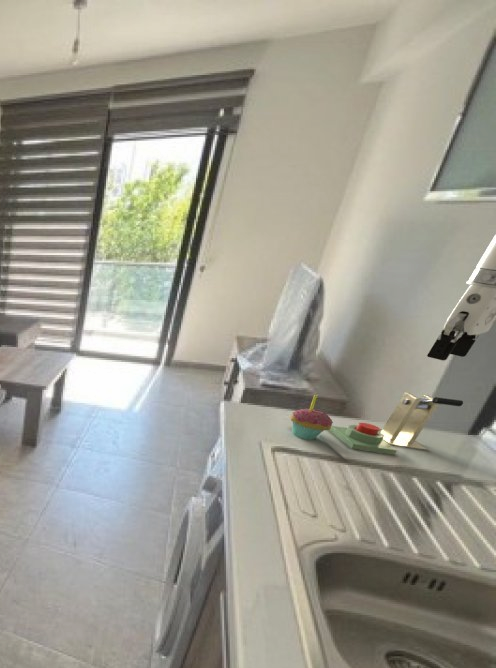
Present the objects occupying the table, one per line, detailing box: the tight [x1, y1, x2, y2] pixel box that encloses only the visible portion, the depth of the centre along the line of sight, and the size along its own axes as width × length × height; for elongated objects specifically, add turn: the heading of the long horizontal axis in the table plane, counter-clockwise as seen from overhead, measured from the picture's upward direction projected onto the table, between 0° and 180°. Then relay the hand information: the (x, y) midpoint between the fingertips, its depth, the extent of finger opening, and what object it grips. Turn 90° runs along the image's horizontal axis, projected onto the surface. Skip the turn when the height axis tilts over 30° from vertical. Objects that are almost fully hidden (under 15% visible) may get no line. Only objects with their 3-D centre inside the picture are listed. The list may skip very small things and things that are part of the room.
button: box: [356, 422, 380, 436], centre depth 120 cm, size 4×4×2 cm
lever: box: [415, 396, 464, 409], centre depth 116 cm, size 10×5×2 cm, turn 167°
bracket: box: [379, 392, 439, 451], centre depth 122 cm, size 10×8×13 cm
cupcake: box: [289, 391, 334, 440], centre depth 123 cm, size 9×8×12 cm
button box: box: [329, 424, 397, 456], centre depth 121 cm, size 11×9×4 cm
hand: (445, 356), depth 110 cm, fingers open, 9 cm apart
